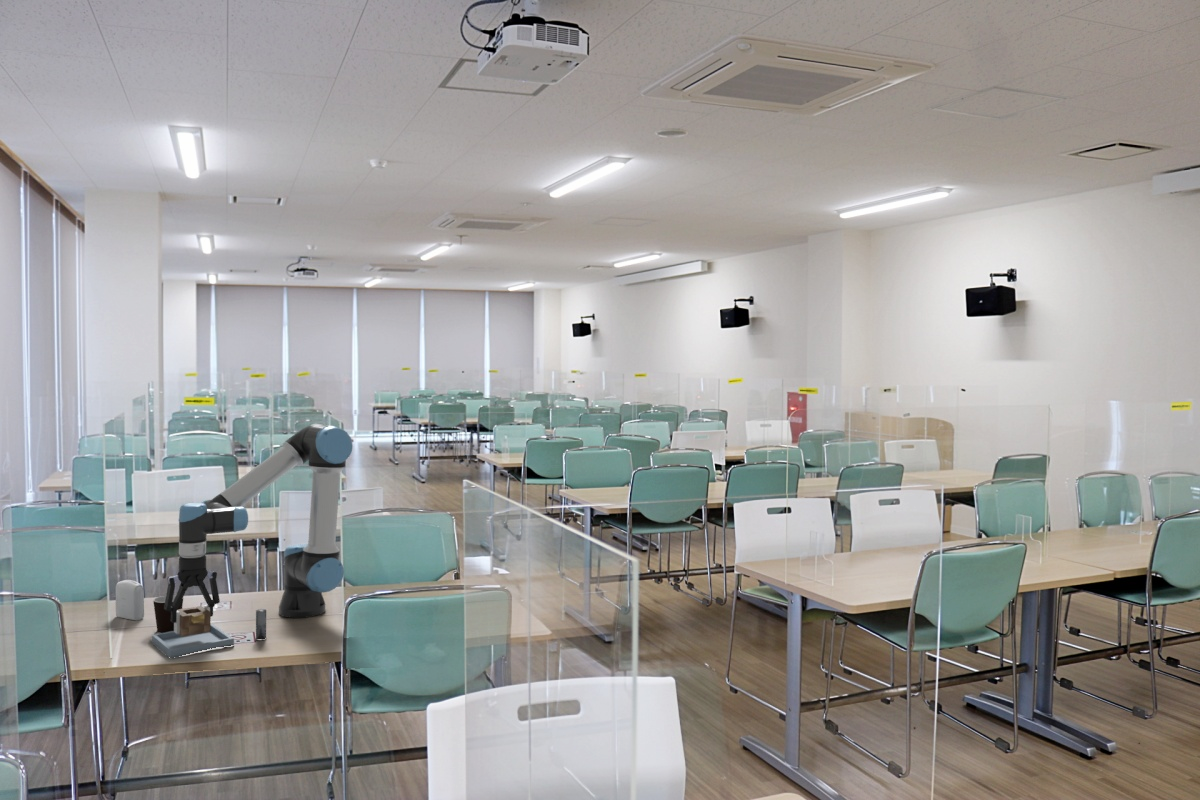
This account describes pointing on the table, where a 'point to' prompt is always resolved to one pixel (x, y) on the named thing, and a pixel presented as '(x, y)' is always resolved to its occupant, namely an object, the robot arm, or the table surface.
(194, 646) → the tray
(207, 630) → the collar
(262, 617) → the post
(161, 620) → the coffee mug
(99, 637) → the table surface
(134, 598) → the photo printer
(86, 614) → the table surface
